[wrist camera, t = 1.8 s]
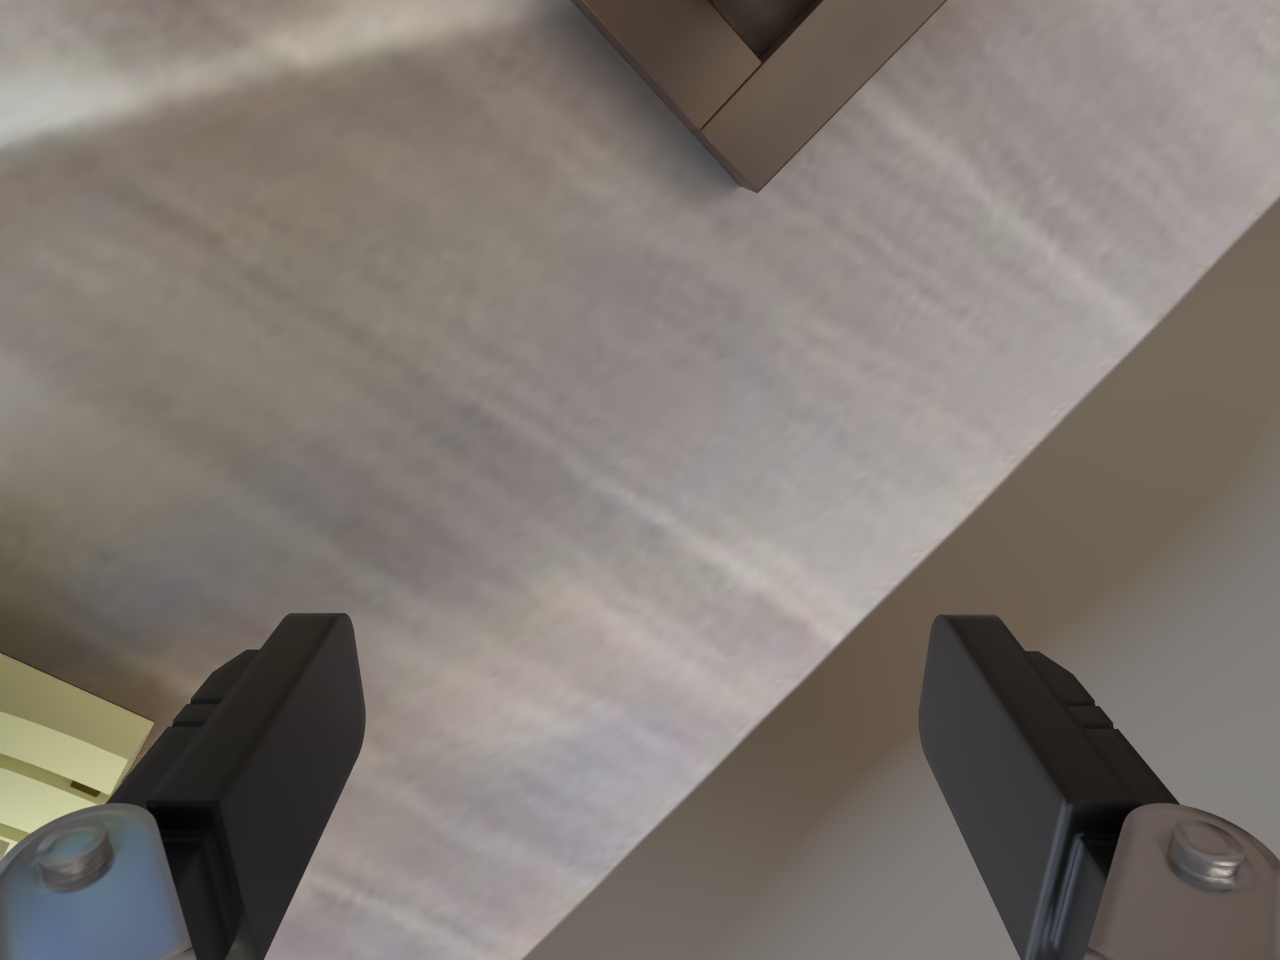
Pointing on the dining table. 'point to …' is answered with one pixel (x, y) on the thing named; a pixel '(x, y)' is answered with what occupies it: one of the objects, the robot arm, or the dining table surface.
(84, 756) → the slatted curved stool
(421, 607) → the dining table surface
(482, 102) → the dining table surface
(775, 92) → the stand
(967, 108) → the dining table surface
